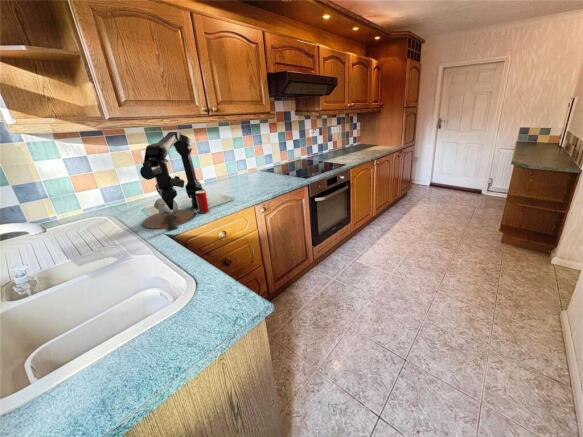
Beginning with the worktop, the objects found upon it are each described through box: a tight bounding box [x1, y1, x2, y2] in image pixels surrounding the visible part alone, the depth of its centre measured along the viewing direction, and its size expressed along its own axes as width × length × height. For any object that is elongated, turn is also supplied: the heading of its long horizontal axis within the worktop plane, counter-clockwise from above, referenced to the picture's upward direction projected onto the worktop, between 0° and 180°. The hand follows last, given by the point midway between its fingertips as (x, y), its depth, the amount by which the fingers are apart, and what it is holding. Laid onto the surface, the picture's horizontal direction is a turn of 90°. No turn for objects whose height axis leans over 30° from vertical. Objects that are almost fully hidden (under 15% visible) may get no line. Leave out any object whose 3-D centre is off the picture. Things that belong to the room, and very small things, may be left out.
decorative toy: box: [153, 197, 179, 217], centre depth 135 cm, size 12×10×20 cm
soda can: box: [196, 189, 210, 214], centre depth 141 cm, size 6×6×12 cm
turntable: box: [142, 209, 195, 232], centre depth 134 cm, size 29×25×7 cm
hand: (170, 207), depth 121 cm, fingers open, 9 cm apart
